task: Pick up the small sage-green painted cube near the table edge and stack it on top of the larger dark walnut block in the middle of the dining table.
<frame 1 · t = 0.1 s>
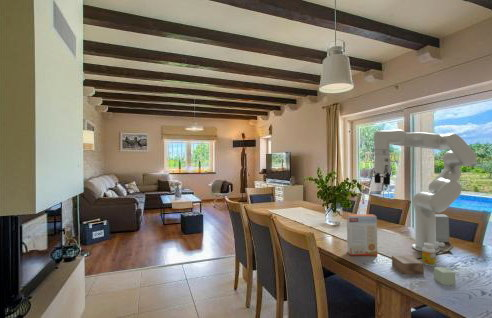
hand: (382, 183, 147), 37 cm above the table, tool pointing down, fingers open, 9 cm apart
cracker box: (361, 254, 141), on the table
skincare box: (439, 241, 161), on the table
walnut block: (407, 270, 121), on the table
sage cube: (444, 282, 109), on the table
supplement bottle: (428, 264, 127), on the table
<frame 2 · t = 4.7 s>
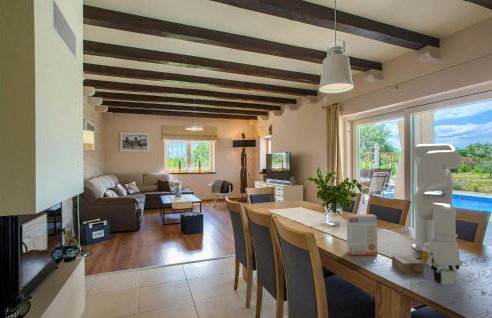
hand: (444, 280, 109), 0 cm above the table, tool pointing down, fingers closed on sage cube, 5 cm apart
sage cube: (444, 281, 109), on the table, touching gripper
everything else where it was.
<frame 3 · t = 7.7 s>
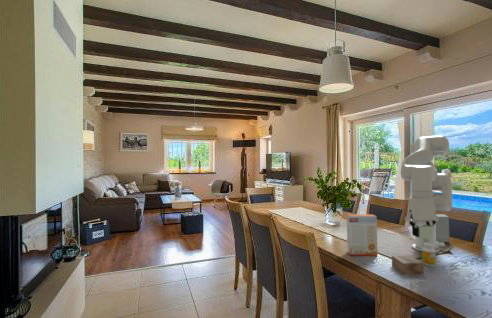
hand: (422, 235, 116), 17 cm above the table, tool pointing down, fingers closed on sage cube, 5 cm apart
sage cube: (422, 236, 116), point 17 cm above the table, touching gripper
everything else where it was.
when the fingers open (6 cm above the table, at t = 11.1 s): sage cube drops 1 cm, point 5 cm above the table.
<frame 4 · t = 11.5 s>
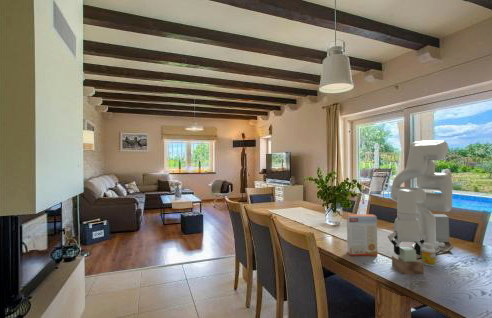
hand: (407, 254, 121), 7 cm above the table, tool pointing down, fingers open, 8 cm apart
sage cube: (407, 259, 121), point 5 cm above the table
everything else where it was.
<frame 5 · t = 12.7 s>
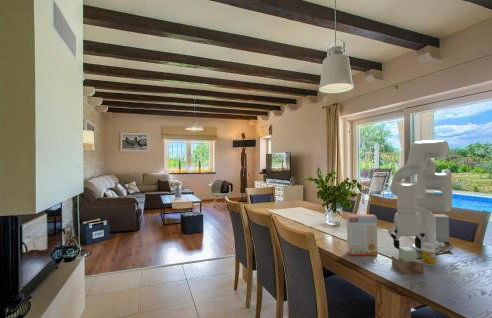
hand: (407, 247, 121), 10 cm above the table, tool pointing down, fingers open, 9 cm apart
nothing on the table moved.
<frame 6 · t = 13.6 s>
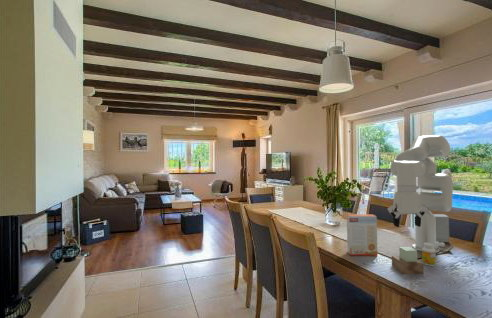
hand: (407, 226, 121), 20 cm above the table, tool pointing down, fingers open, 9 cm apart
nothing on the table moved.
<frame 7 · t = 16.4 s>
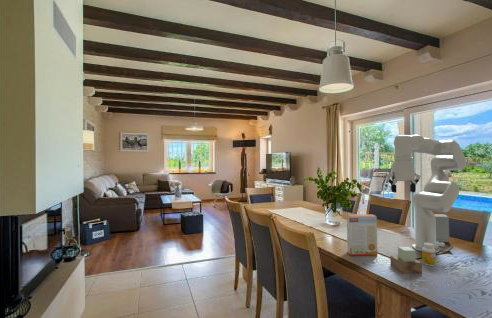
hand: (403, 192, 137), 33 cm above the table, tool pointing down, fingers open, 9 cm apart
walnut block: (405, 269, 122), on the table, touching sage cube
sage cube: (406, 259, 121), point 5 cm above the table, touching walnut block
everything else where it was.
at the end: sage cube 0.5 cm off-centre on the walnut block, point 5.0 cm above the walnut block's base; sage cube tilted 0°; the gripper is holding nothing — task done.
